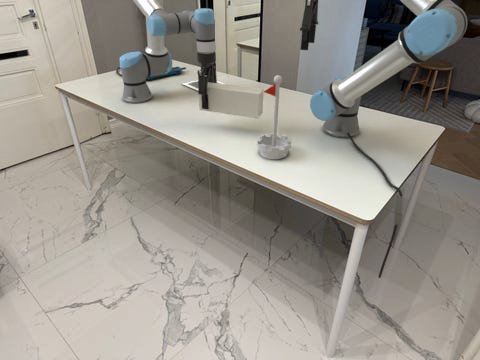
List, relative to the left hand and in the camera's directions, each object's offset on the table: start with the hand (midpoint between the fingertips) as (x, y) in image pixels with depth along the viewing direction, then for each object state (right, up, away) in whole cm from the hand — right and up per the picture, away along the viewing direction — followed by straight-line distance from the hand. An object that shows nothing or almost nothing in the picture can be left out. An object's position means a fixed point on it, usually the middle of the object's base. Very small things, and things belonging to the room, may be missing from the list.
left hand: (208, 105), depth 150 cm
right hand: (+40, +18, -20) cm, 48 cm away
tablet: (-3, +22, +51) cm, 56 cm away
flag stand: (+27, -22, -17) cm, 39 cm away
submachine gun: (-40, +37, +75) cm, 92 cm away
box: (+10, -3, -2) cm, 10 cm away
